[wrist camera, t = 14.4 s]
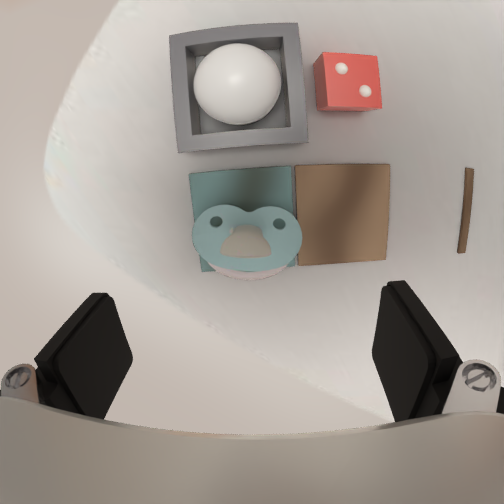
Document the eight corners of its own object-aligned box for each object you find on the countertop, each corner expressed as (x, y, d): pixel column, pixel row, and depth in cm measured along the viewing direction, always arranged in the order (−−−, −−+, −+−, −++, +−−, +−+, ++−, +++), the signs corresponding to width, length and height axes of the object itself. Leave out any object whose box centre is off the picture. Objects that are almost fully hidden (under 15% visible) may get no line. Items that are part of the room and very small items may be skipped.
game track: (471, 168, 20) (473, 169, 20) (463, 251, 23) (465, 252, 23) (189, 173, 21) (188, 174, 21) (202, 270, 24) (201, 271, 24)
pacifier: (293, 277, 24) (300, 202, 22) (303, 325, 18) (314, 232, 16) (200, 273, 24) (197, 199, 22) (184, 320, 18) (175, 227, 16)
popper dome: (274, 53, 18) (279, 29, 13) (280, 122, 20) (287, 118, 15) (199, 60, 18) (182, 39, 13) (205, 129, 20) (188, 127, 15)
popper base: (356, 39, 17) (374, 23, 14) (365, 141, 20) (385, 143, 17) (180, 47, 18) (165, 31, 14) (188, 150, 21) (174, 154, 17)
